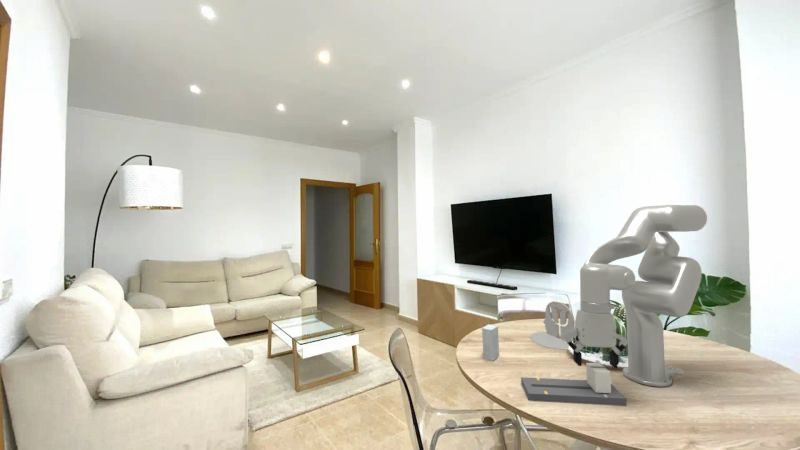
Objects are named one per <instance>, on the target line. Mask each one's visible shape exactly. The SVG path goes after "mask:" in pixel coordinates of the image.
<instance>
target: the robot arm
mask: <svg viewBox="0 0 800 450" xmlns="http://www.w3.org/2000/svg"><path fill="white" fill-rule="evenodd" d="M707 221H708V215H707V212H706V210H705V209H704V207H702V206H700V205H696V204H695V205H694V204H693V205H690V204H684V205H683V204H665V205H664V204H663V205H650V206H641V207H638V208H636V209H635V210H633V211H632V212H631V214H630V216H629V217H628V219H627V220H626V222H625V224H624V225H623V226H622V228H621V230H620V231H619V233H618V235H617V236H616V237H614V238H613V239H611V240H608V241H607V242H605V243H604V244H601V245H600V246H598V247H597V248H595V249H594V250H593V251H591V253H590V254H589V256H588V257H587V259H586V260H585V261H584V264H583V266H581V268H580V269H579V278H580V280H579V283H580V285H579V286H580V289H579V291H580V292H579V294H580V297H579V298H580V302H579V303H580V309H577V310H576V315H575V319H574V322H575V323H574V326H575V330H574V331H572V332H569V333H567V334H565V335H564V338H565V340H566V342H567V344H568V345H569V346H570V347H571V348H572V349H573V350H572V351H573V355H572V356H573V362H575V364H576V365H577V366H578V367H582V364H583V363H582V362H583V361H582V355H583V354H582V352H581V350H583V348H584V347H588V348H590V347H591V348H602V349H605V348H607V349H610V350H609V351H608V353H609V355H608V356H609V365H610V366H612V368H614V369H615V370H616V369H618V366H619V363H620V361H619V358H620V356H619V355H621V353H622V352H623V351H624V350H625V349H626V347H627V366H628V367H627V366H625V367H624V368H622V373H623V375H624V376H625V377H626V378H627V379H629V380H631V381H633V382H635V383H638V384H641V385H645V386H649V387H659V388H660V387H661V388H664V387H668V386H671V385H672V381H673V380H672V378H671V376H672V375H673V376H683V373H684V372H683V370H682V369H681V368H673V366H671V365H666V364H665V342H664V341H665V340H664V325H663V323H662V320H661V319H660V318H659V316H658V315H664V316H667V317H673V318H674V317H675V318H684V317H686V316H687V315H688V314H689V312H690V310H691V308H692V306H693V303H694V300H695V298H696V295H697V293H698V290H699V288H700V284H701V281H702V278H703V277H702V274H703V273H702V267H701V265H700V263H699V262H698V261H697V260H696V259H694V258H691V257H687V256H679V254H680V253H679V252H680V250H681V249H680V244H679V243H678V241H676V239H674V238H673V237H672V235H670V233H669V232H671V233H673V232H683V233H684V232H685V233H686V232H699V231H701V230H702V229H703V228H704V227H705V226H706V224H707ZM642 253H644V254H643V256H642V258H641V260H640V263H639V265H638V268H637V274H638V277H639V278H640V279H641V280H636V276H635V273H634V271H633V270H632V269H631V268H629V267H627V266H625V265H618V264H612V262H614V261H617V260H621V259H624V258H630V257H632V256H637V255H640V254H642ZM611 290H613V291H614V290H615V291H621V298H622V302H623V305H624V310H625V319H626V337H625V336H623V335H621V334H618V333H617V330H616V323H615V319H614V315H613V313H612V310H614V309H615V308H616V305H615V304H614V303H611ZM573 337H574V338H575V343H574V344H573V343H572V341H571V338H573ZM617 340H619V343H618V344H617Z"/></svg>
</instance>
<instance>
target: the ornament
mask: <svg viewBox="0 0 800 450" xmlns="http://www.w3.org/2000/svg"><path fill="white" fill-rule="evenodd" d="M559 310H560V312H559ZM544 314H545V318H544V319H543V324H544V327H545V331H537V332H533V333H532V334H530V335H529V339H531V340H530V341H531V342H532V343H534V344H536V345H538V346H541V347H545V348H548V349H553V350H560V351H561V350H563V351H569V350H568V346H569V345H568V344H567V342H566V340H565V338H564V335H565V334H567V333H569V332H572V331H574V330H575V318H574V315H573V312H572V310H571V309H570V308H569V306H568V305H566V304H564V303H563V302H560V301H551V302H548V303H547V305H546V308H545V313H544ZM567 316H568V317H567ZM559 323H560V324H559ZM559 326H560V327H559ZM559 336H560V338H559ZM571 341H573V338H571Z"/></svg>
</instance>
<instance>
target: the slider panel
mask: <svg viewBox="0 0 800 450" xmlns="http://www.w3.org/2000/svg"><path fill="white" fill-rule="evenodd" d="M520 379H521V381H520V382H521V383H520V384H521V386H522V388H523V391H524V393H525V395H526V397H527V399H528V401H534V402H551V403H553V402H555V403H571V404H572V403H573V404H589V405H602V406H603V405H607V406H608V405H609V406H623V407H627V405H628V404H627V403H628V401H627V399H628V398H627V397H625V396H624V395H623V394H622V392H621V391H619V390H618V389H617V388H616V387H615V386H614V385H613V384H612V383H611V393H597V392H595V391H594V390H593V389H592V387H591V386H590V385H589V384H588V383H587V379H569V378H568V379H567V378H566V379H565V378H547V377H544V378H542V377H541V378H540V377H526V376H525V377H523V376H521V377H520Z"/></svg>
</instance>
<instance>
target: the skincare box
mask: <svg viewBox="0 0 800 450" xmlns="http://www.w3.org/2000/svg"><path fill="white" fill-rule="evenodd" d="M481 329H482V330H481V331H482V333H481V334H482V355H483V356H482V357H483V359H484V360H487V361H488V360H489V361H491V362H494V361H495V360H496V359H498V357H499V356H500V345H499V326H498V325H495V324H489V323H488V324H485V326H483V327H482V328H481Z"/></svg>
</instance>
